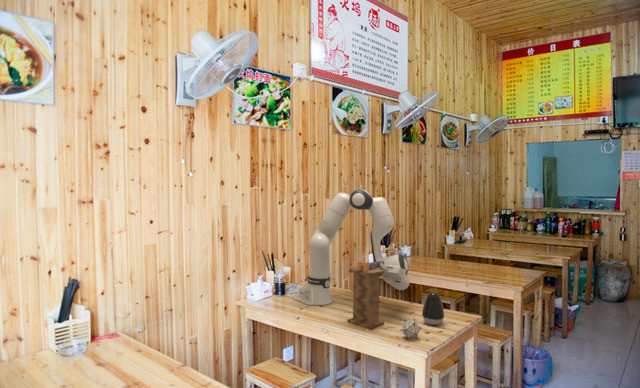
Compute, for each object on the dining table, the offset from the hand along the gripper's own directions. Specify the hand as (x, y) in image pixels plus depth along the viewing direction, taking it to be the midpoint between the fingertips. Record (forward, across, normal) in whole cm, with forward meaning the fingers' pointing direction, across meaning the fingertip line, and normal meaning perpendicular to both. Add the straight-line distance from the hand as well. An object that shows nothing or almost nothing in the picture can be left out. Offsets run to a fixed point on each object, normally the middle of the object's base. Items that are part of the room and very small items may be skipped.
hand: (376, 263), depth 211 cm
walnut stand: (-7, 0, +28) cm, 29 cm away
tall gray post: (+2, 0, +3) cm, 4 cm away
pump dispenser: (-27, +23, +17) cm, 39 cm away
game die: (-6, +25, +29) cm, 39 cm away
